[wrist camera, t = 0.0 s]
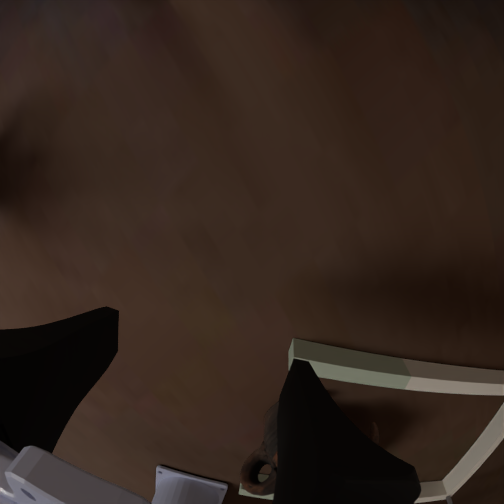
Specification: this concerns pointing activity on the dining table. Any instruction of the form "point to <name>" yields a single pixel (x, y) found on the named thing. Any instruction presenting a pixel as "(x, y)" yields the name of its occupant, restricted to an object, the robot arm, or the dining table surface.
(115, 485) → the robot arm
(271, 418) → the brown piece
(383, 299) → the dining table surface
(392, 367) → the open rectangular rail frame
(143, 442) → the dining table surface
